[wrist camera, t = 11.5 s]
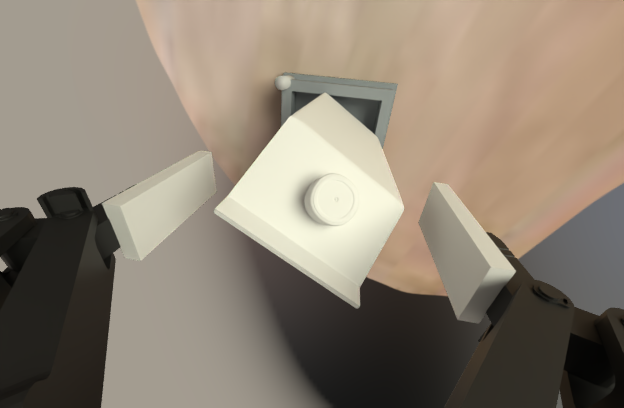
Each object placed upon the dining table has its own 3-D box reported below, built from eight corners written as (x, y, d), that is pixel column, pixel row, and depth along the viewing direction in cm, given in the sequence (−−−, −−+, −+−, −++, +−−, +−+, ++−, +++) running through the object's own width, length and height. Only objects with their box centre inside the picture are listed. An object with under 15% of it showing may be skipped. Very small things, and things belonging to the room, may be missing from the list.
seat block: (285, 72, 27) (272, 72, 22) (396, 83, 26) (405, 85, 21) (283, 173, 32) (272, 189, 28) (372, 186, 31) (375, 204, 27)
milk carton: (334, 184, 28) (309, 341, 12) (285, 146, 27) (180, 262, 10) (378, 137, 25) (428, 261, 9) (325, 91, 24) (262, 133, 7)
